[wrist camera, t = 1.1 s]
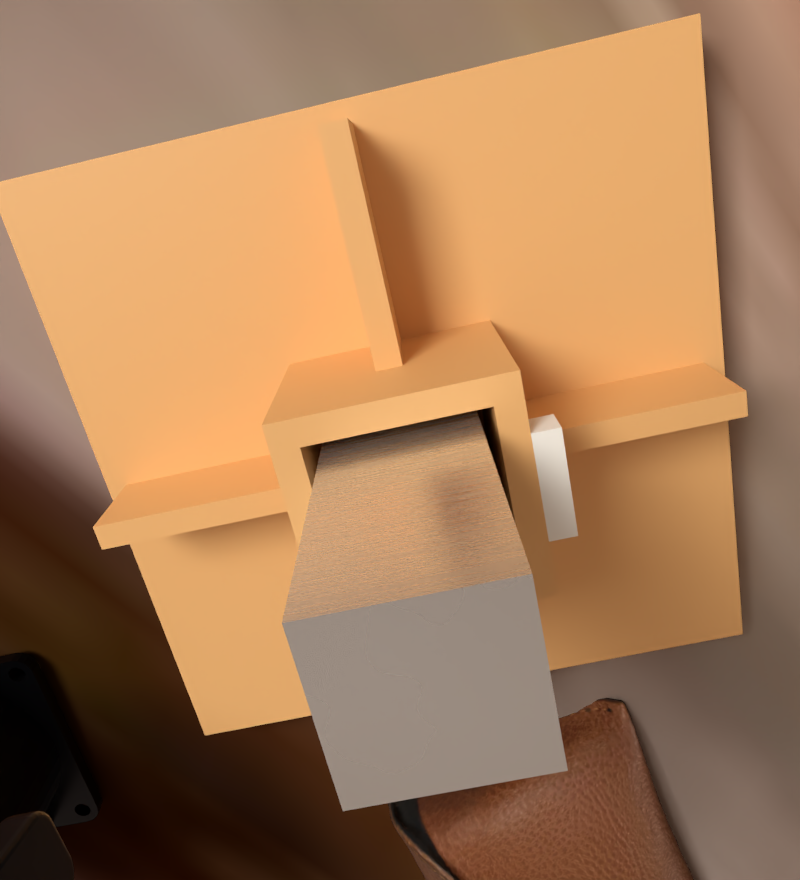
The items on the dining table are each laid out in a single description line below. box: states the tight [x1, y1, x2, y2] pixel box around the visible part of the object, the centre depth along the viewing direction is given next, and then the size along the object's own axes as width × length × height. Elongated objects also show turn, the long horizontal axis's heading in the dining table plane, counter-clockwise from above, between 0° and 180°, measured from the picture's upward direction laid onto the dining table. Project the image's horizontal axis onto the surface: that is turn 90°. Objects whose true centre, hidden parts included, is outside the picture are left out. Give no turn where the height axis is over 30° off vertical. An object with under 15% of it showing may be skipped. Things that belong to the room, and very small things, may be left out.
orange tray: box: [0, 13, 748, 735], centre depth 18 cm, size 16×16×6 cm
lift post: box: [282, 410, 568, 811], centre depth 15 cm, size 3×3×10 cm
